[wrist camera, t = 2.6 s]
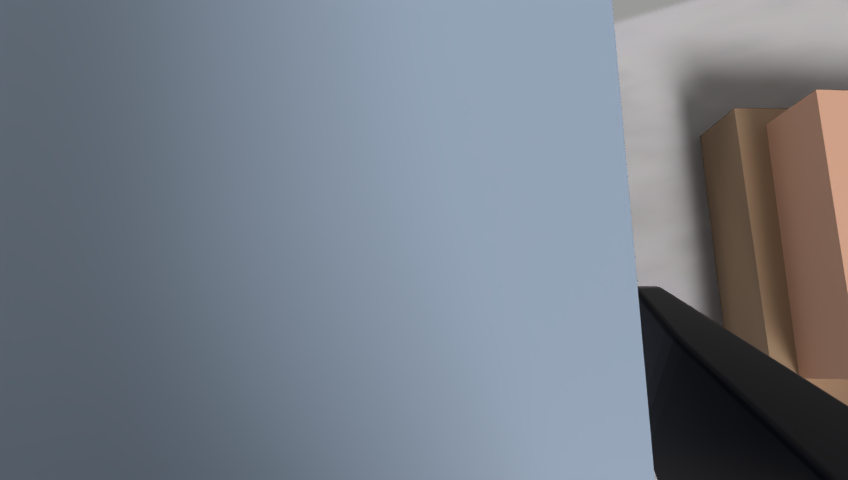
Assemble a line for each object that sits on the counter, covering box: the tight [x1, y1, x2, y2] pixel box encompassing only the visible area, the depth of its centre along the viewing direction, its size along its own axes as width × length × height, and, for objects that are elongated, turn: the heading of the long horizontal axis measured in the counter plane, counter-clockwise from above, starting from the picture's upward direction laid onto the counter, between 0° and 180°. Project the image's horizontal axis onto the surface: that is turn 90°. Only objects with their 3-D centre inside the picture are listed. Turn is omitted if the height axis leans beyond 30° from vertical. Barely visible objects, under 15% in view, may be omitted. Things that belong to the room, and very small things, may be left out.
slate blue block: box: [0, 0, 655, 480], centre depth 10 cm, size 5×5×13 cm
